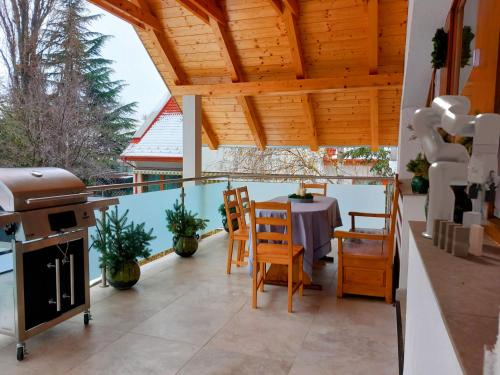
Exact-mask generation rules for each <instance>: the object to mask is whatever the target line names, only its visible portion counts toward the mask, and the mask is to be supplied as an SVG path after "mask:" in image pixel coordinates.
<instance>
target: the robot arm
mask: <svg viewBox="0 0 500 375" xmlns="http://www.w3.org/2000/svg"><path fill="white" fill-rule="evenodd" d="M471 105H472V104H471V100H470V99H469V98H468V97H467V96H464V95H449V94H447V95H445V94H443V95H439V96H436V97H435V98H434V99H433V100H432V102H431V107H423V108H419V109H417V110H415V112H414V113H413V115H412V120H411V121H412V128H413V131H414V134H415V136H416V137H417V139H418V140H419V142H420V145H421V148H422V149H423V152H424V155H425V157H426V160H427V162H428V163H429V164H431V165H430V166H429V168H428V181H429V183H428V184H429V192H428V194H429V195H428V209H427V220H426V231H422V232H421V235H422V236H423V237H425V238H428V239H432V234H433V222H434V219H447V220H448V221H453V222H454V212H455V211H454V210H455V202H456V201H455V200H456V196H455V193H454V190H453V189H452V187H451V186H467V188H468V189H467V190H468V192H467V199H468V200H470V199H471V200H477V199H479V198H478V197H479V187H478V186H479V185H483V184H484V187H485V190H484V196H483V198H484V199H483V201H484V203H495V202H496V191H497V190H498V187H499V184H500V176H499V175H498V174H499V172H498V170H499V168H498V167H499V165H498V164H499V161H498V154H499V147H500V146H499V144H500V114H498V113H492V112H491V113H490V112H489V113H479V114H478V115H470V114H468V113H470V111H471V108H472V106H471ZM435 128H442V130H444V131H445V133H447V134H448V135H451V136H454V137H470V138H472V137H473V138H472V149H471V150H472V151H471V155H470V154H469V151H468V150H467V148H466V146H464V145H462V144H460V143H450V142H445V141H444V139H443V137H442V135H441V134H440V133H439V132H438V131H437V130H436V129H435Z"/></svg>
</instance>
